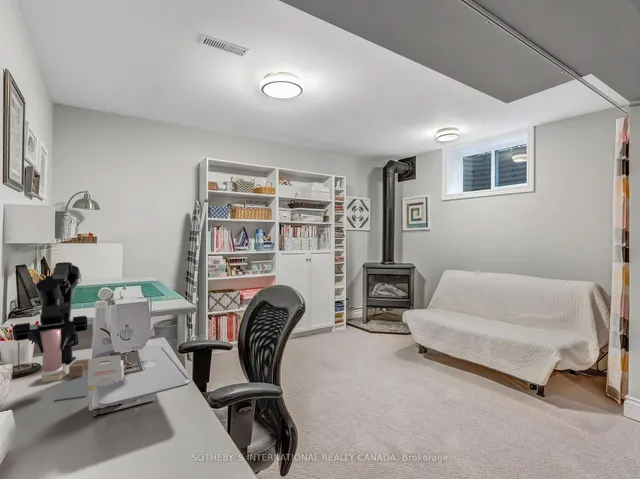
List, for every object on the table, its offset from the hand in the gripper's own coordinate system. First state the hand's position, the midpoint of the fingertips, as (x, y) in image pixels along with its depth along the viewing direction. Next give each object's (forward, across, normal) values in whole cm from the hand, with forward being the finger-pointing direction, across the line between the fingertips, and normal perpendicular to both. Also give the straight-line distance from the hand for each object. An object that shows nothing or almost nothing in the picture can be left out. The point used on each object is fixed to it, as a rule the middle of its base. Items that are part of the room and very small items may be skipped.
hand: (51, 350), depth 104 cm
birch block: (0, 0, +20) cm, 20 cm away
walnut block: (0, +7, +20) cm, 21 cm away
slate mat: (+10, +7, +9) cm, 15 cm away
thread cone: (+4, 0, +6) cm, 7 cm away
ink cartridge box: (+22, +13, -3) cm, 26 cm away
